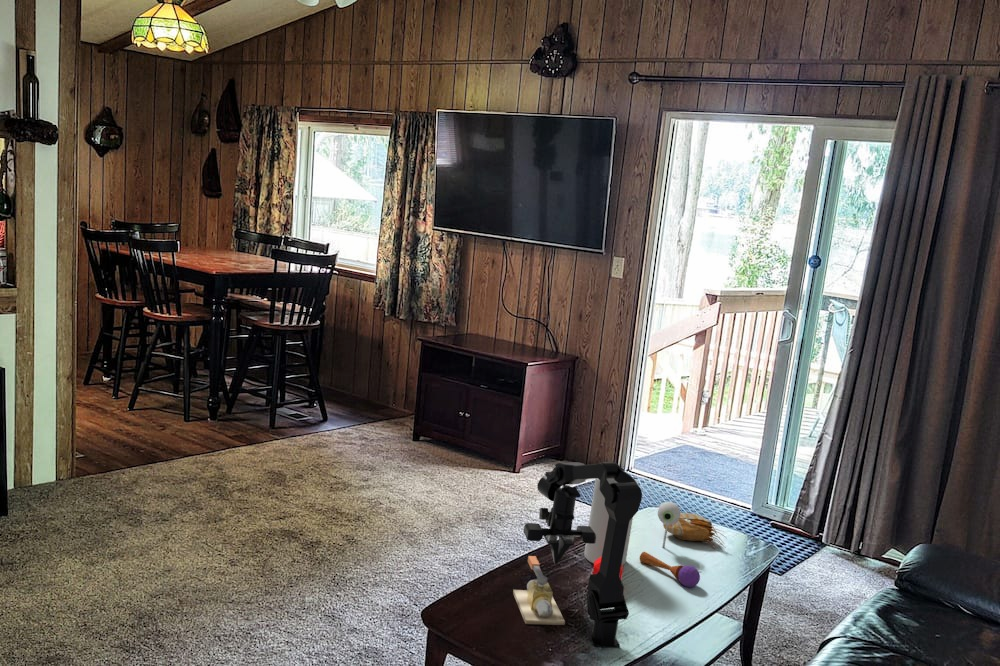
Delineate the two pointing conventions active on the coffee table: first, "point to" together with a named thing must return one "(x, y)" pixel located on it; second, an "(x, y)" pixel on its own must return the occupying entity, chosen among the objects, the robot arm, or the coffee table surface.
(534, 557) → the valve lever
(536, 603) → the valve
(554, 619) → the valve board
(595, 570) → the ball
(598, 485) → the cylinder vase
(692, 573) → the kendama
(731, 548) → the coffee table surface
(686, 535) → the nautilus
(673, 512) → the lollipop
